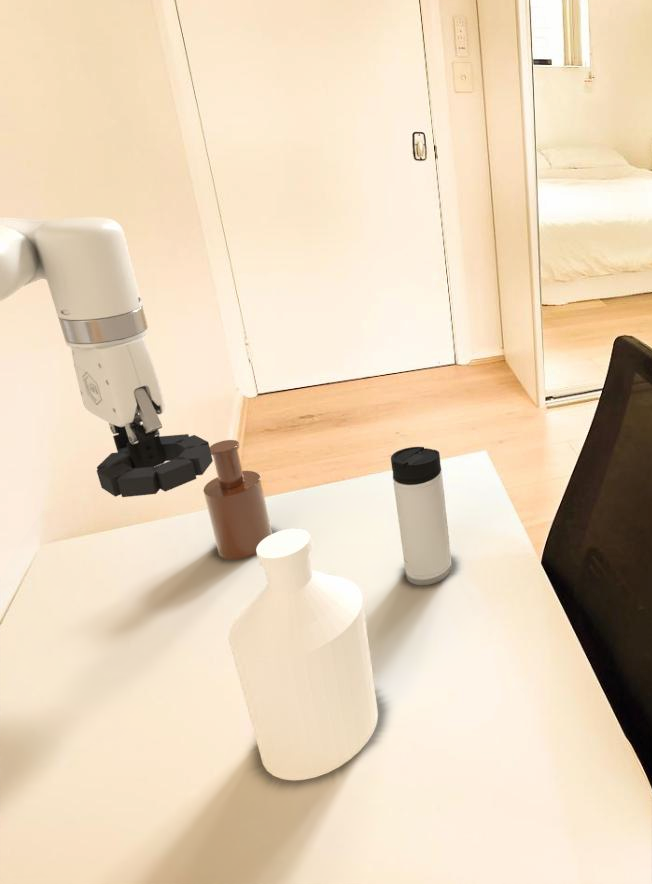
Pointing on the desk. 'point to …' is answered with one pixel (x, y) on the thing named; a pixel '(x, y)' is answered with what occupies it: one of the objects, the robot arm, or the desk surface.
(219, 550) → the amber bottle
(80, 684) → the desk surface
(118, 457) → the rubber ring
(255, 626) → the bottle
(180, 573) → the desk surface
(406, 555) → the travel mug
